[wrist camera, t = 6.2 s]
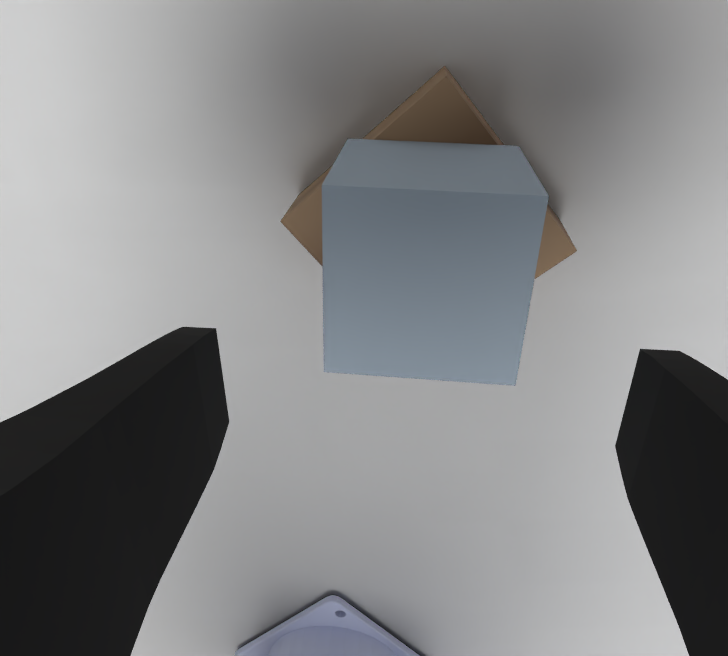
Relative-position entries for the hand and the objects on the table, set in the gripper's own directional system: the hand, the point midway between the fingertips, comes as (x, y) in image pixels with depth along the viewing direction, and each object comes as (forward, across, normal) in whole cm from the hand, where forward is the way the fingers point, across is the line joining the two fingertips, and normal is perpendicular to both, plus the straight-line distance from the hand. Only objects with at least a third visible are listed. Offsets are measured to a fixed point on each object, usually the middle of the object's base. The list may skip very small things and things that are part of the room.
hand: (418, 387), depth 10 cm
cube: (+8, 0, 0) cm, 8 cm away
